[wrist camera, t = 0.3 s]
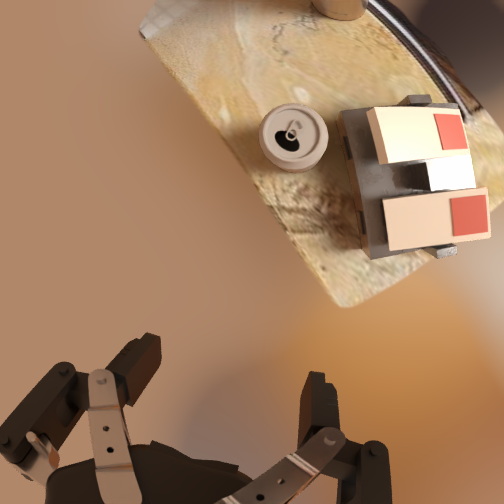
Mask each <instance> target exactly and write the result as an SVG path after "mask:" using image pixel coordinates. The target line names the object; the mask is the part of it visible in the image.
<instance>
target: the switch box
mask: <svg viewBox="0 0 504 504" xmlns="http://www.w3.org/2000/svg"><path fill="white" fill-rule="evenodd" d="M431 103H432V100H431V97H430V95H408V96H407V97H406V98H404V99H403V100H402V101H401V102H399V103H398V104H397V105H392V106H381V107H431V108H447V109H459V108H458V105H457V103H433V104H431ZM372 108H374V107H371V108H362V109H354V110H347V111H341V112H340V114H339V116H338V118H337V120H336V124H337V128H338V132H339V136H340V140H341V143H342V148H343V152H344V156H345V160H346V164H347V169H348V173H349V178H350V183H351V188H352V193H353V198H354V204H355V209H356V215H357V221H358V227H359V234H360V240H361V248H362V250H363V251H364V252H365V254H366V255H367V256H368V257H369V258H370V260H372V259H378V258H383V257H388V256H393V255H398V254H402V253H407V252H412V251H417V250H422V249H423V250H424V251H426V252H428V253H429V254H431V255H432V256H434V257H435V258H437V259H438V258H443V257H447V256H451V255H455V254H457V246H456V245H454V244H452V243H449V244H441V245H433V246H426V247H418V248H410V249H402V250H394V251H390V250H389V244H388V235H387V227H386V220H385V213H384V207H383V201H382V199H383V198H390V197H398V196H405V195H413V194H420V193H428V192H436V191H445V190H453V189H462V188H472V187H475V181H474V174H473V168H472V162H471V157H470V155H465V156H454V157H442V158H432V159H422V160H413V161H405V162H397V163H389V164H382V165H380V164H379V160H378V155H377V151H376V147H375V143H374V139H373V135H372V131H371V128H370V124H369V120H368V117H367V113H366V112H367V111H369V110H370V109H372Z"/></svg>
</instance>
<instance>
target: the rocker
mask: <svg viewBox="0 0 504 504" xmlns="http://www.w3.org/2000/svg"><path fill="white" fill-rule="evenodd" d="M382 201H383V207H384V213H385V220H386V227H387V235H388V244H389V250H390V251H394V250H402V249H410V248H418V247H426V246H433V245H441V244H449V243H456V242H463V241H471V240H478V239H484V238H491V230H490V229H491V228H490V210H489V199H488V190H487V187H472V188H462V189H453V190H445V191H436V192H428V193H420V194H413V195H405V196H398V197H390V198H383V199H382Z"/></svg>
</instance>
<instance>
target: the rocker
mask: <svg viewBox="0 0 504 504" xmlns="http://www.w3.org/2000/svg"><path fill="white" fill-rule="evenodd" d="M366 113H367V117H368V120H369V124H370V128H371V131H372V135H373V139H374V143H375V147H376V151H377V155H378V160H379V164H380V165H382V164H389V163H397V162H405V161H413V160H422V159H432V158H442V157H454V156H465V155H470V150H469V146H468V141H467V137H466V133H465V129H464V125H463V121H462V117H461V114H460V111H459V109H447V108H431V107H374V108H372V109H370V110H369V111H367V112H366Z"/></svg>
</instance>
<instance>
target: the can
mask: <svg viewBox="0 0 504 504" xmlns="http://www.w3.org/2000/svg"><path fill="white" fill-rule="evenodd" d="M258 136H259V143H260V147H261V149H262V151H263V153H264V155H265V156H266V157H267V158H268V159H269V160H270V161H271V162H272V163H274V164H275V165H277V166H278V167H280V168H281V169H283V170H285V171H287V172H292V173H302V172H305V171H308V170H310V169H312V168H313V167H314V166H315V165H316V164H317V163H318V162H319V160H320V159H321V157H322V155H323V153H324V152H325V150H326V148H327V143H328V132H327V127H326V125H325V123H324V121H323V119H322V117H321V116H320V115H319V114H318V113H317V112H316V111H314V110H313V109H311V108H309V107H307V106H305V105H301V104H295V103H291V104H283V105H280V106H278V107H276V108H274V109H272V110H271V111H270V112H269V113H268V114H267V115H266V116H265V117H264V119H263V121H262V122H261V124H260V128H259V134H258Z"/></svg>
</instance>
